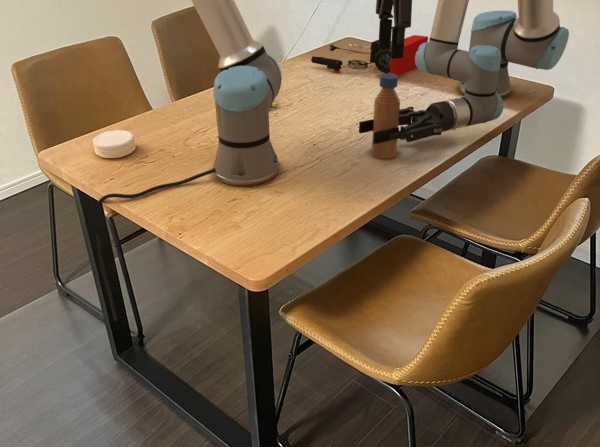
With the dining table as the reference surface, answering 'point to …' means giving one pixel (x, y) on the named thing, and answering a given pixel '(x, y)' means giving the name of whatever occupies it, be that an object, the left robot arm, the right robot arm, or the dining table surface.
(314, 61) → the electric hoist
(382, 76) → the cap
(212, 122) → the dining table surface
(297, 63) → the dining table surface
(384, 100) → the bottle
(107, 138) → the coaster
